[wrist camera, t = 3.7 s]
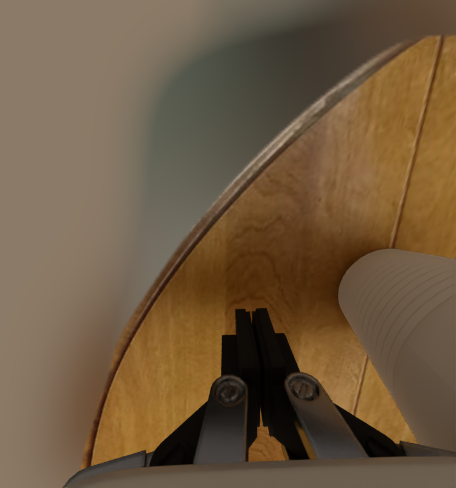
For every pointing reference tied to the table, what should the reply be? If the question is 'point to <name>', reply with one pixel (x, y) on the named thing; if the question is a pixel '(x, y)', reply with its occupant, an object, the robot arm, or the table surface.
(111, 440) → the table surface
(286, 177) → the table surface
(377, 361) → the cup
